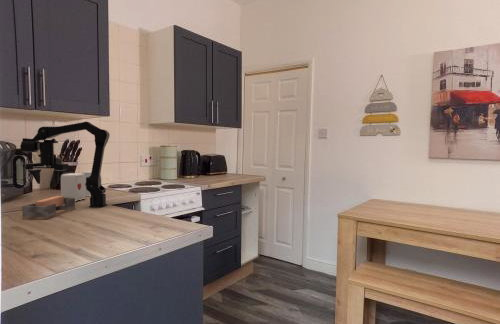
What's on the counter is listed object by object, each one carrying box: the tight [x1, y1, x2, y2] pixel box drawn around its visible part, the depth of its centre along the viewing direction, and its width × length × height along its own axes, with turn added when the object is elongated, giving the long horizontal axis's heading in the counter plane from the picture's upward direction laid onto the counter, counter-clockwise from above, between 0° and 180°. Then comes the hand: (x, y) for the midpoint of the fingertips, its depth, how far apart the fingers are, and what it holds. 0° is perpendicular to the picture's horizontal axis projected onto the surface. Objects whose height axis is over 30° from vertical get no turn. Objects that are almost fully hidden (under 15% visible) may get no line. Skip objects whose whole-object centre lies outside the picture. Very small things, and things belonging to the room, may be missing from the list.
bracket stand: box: [21, 198, 76, 221], centre depth 142 cm, size 10×20×6 cm, turn 178°
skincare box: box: [81, 170, 92, 196], centre depth 187 cm, size 8×6×15 cm
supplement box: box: [60, 173, 86, 200], centre depth 172 cm, size 9×9×15 cm
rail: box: [35, 195, 64, 207], centre depth 142 cm, size 14×4×4 cm, turn 178°
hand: (47, 183), depth 153 cm, fingers open, 9 cm apart
